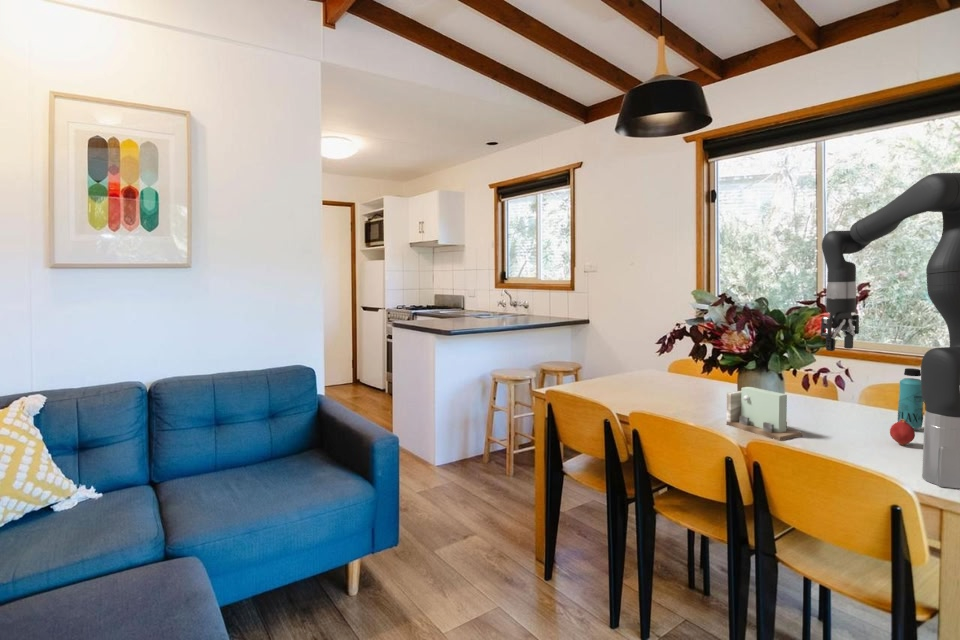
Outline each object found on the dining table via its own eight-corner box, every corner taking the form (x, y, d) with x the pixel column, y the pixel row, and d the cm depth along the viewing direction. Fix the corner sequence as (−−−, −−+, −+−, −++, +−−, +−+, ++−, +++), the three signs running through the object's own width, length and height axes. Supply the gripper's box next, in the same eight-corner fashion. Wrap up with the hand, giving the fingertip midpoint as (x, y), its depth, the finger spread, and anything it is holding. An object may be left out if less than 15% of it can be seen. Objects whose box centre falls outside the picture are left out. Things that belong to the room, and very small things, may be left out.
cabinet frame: (801, 436, 164) (802, 401, 163) (779, 440, 160) (780, 405, 159) (747, 420, 182) (747, 389, 181) (726, 424, 178) (726, 392, 177)
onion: (889, 440, 157) (890, 415, 156) (914, 444, 153) (915, 417, 153) (889, 445, 152) (890, 419, 152) (914, 449, 149) (915, 422, 148)
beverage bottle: (892, 428, 169) (894, 368, 168) (904, 425, 172) (907, 366, 170) (915, 433, 163) (917, 371, 161) (927, 430, 166) (930, 369, 164)
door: (786, 431, 165) (786, 394, 164) (776, 433, 163) (777, 396, 163) (748, 420, 178) (748, 386, 177) (738, 422, 176) (739, 388, 175)
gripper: (843, 295, 162) (841, 346, 164) (813, 297, 157) (811, 350, 158) (869, 296, 156) (867, 349, 157) (838, 298, 150) (836, 353, 151)
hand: (839, 349), depth 158 cm, fingers open, 8 cm apart
